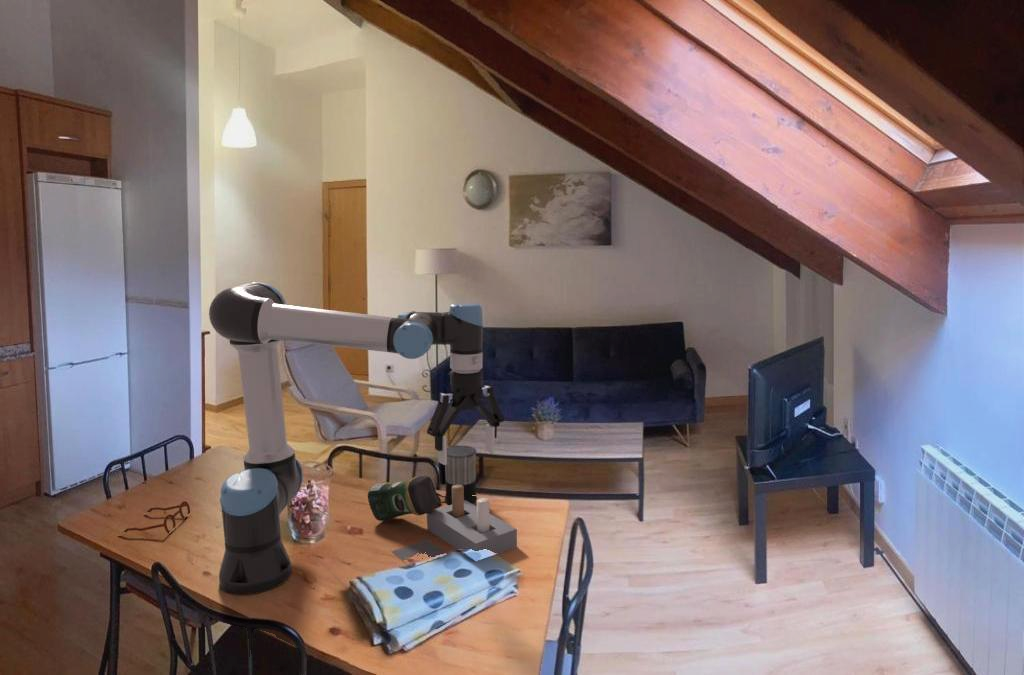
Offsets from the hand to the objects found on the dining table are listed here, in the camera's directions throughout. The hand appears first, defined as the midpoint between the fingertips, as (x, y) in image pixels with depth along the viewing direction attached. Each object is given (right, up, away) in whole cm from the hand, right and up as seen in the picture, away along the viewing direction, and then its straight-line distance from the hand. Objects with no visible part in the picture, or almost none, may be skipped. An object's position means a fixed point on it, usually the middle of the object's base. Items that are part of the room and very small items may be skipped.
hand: (466, 457), depth 162 cm
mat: (-11, -23, 0) cm, 26 cm away
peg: (+4, -23, +4) cm, 23 cm away
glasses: (-83, -22, +18) cm, 88 cm away
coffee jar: (-25, -15, +20) cm, 36 cm away
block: (+1, -22, +8) cm, 23 cm away
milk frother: (-7, -18, +31) cm, 36 cm away
